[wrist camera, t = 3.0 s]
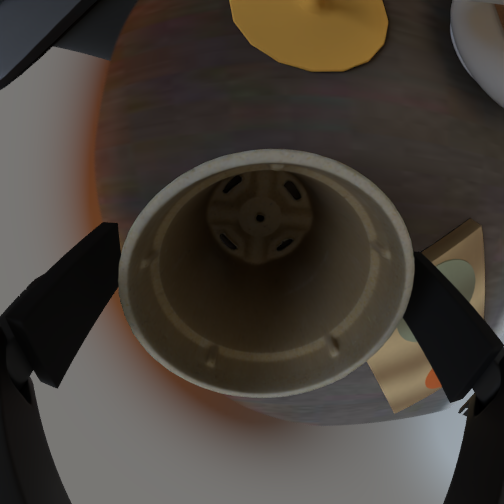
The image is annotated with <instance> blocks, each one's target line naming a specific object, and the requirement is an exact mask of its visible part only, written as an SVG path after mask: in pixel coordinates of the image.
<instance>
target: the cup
mask: <svg viewBox="0 0 504 504" xmlns="http://www.w3.org/2000/svg"><path fill="white" fill-rule="evenodd" d="M229 1H230V6H231V11H232V16H233V22H234V23H235V24H236V26H237V27H238V28H239V29H240V31H241V32H242V33H243V35H244V36H245V37H246V39H247V40H248V41H249V43H250V44H251V45H252V46H254V47H256V48H257V49H259V50H260V51H262V52H264V53H265V54H267V55H268V56H270V57H271V58H273V59H274V60H276V61H277V62H279V63H283V64H286V65H290V66H293V67H297V68H300V69H304V70H307V71H310V72H343V71H345V70H348V69H350V68H353V67H355V66H358V65H361V64H363V63H366V62H368V61H370V59H371V58H372V57H373V56H374V55H375V54H376V53H377V52H378V50H379V49H380V48H381V47H382V46H383V45H384V43H385V38H386V33H387V28H388V23H389V22H388V18H387V14H386V11H385V7H384V4H383V1H382V0H229ZM468 1H471V2H484V3H493V4H501V5H504V0H468Z"/></svg>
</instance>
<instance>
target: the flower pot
mask: <svg viewBox="0 0 504 504" xmlns="http://www.w3.org/2000/svg"><path fill="white" fill-rule="evenodd" d="M236 175H239V176H240V177H242V181H241V182H240V183H239V184H237V185H235V186H234V187H233V188H232V189H231V190H230V191H229V192H228V193H225V192H223V190H224V189H225V187H226V185H227V184H228V183H229V182H230V181H231V180H232V179H233V178H234V177H235V176H236ZM287 181H291V182H293V183H294V184H295V186H296V188H297V190H298V191H299V193H300V196H301V198H300V199H297V200H296V199H294V198H293V196H292V195H291V194H290V192H289V191H288V190H287V189H286V187H284V184H285V183H286V182H287ZM257 215H262V216H264V220H263V221H258V220H257V219H256V217H257ZM221 234H224V235H225V236H226V237H227V238H228V239H229V240H230V241H231V242H232V243H233V244H234V245H235V246H236V249H232V248H230V247H227V246H226V245H225V243H223V242H222V240H221V238H220V235H221ZM288 239H292V240H293V241H292V242H291V243H290V244H289V245H288V246H286V247H285V248H284V249H281V250H277V247H278V246H280V245H281V244H282V241H283V242H284V241H287V240H288ZM414 266H415V264H414V256H413V248H412V242H411V238H410V236H409V233H408V231H407V228H406V225H405V223H404V221H403V219H402V217H401V215H400V214H399V212H398V211H397V209H396V208H395V206H394V205H393V203H392V202H391V201H390V199H389V198H388V197H387V196H386V195H385V194H384V193H383V192H382V191H381V190H380V189H379V188H378V187H377V186H376V185H375V184H374V183H373V182H371V181H370V180H369V179H367V178H366V177H365V176H363V175H362V174H360V173H359V172H358V171H356V170H354V169H352V168H351V167H349V166H347V165H345V164H343V163H341V162H338V161H336V160H333V159H330V158H327V157H324V156H321V155H317V154H313V153H309V152H304V151H298V150H289V149H259V150H251V151H244V152H239V153H234V154H230V155H224V156H222V157H219V158H216V159H213V160H210V161H208V162H205V163H203V164H201V165H199V166H197V167H195V168H193V169H191V170H189V171H188V172H186V173H184V174H182V175H181V176H179V177H178V178H176V179H175V180H174V181H172V182H171V183H170V184H169V185H167V186H166V187H165V188H163V189H162V190H161V191H160V192H159V193H158V194H157V195H156V196H155V197H154V198H153V199H152V200H151V201H150V202H149V203H148V204H147V206H146V207H145V208H144V209H143V211H142V212H141V213H140V214H139V216H138V217H137V219H136V220H135V222H134V224H133V225H132V227H131V229H130V231H129V233H128V235H127V238H126V240H125V243H124V246H123V249H122V254H121V258H120V262H119V277H118V285H119V297H120V302H121V304H122V308H123V311H124V315H125V317H126V319H127V321H128V323H129V325H130V327H131V330H132V332H133V334H134V335H135V336H136V338H137V339H138V340H139V342H140V343H141V345H142V346H143V347H144V348H145V349H146V351H147V352H148V353H149V354H150V355H151V356H152V357H154V359H155V360H157V361H158V362H159V363H161V364H162V365H163V366H164V367H166V368H167V369H168V370H169V371H171V372H173V373H175V374H176V375H178V376H180V377H181V378H183V379H185V380H187V381H189V382H191V383H194V384H196V385H198V386H200V387H203V388H206V389H209V390H212V391H215V392H219V393H223V394H228V395H233V396H242V397H253V398H268V397H272V398H273V397H284V396H290V395H295V394H301V393H304V392H309V391H312V390H314V389H317V388H321V387H323V386H325V385H328V384H331V383H333V382H335V381H337V380H339V379H341V378H343V377H345V376H346V375H349V373H350V372H352V371H354V370H355V369H356V368H358V367H359V366H361V365H362V364H364V363H365V362H366V361H368V360H369V359H370V358H371V357H372V356H373V355H374V354H375V353H376V352H377V351H378V350H379V349H380V348H381V347H382V346H383V345H384V343H385V342H386V341H387V340H388V339H389V338H390V337H391V335H392V334H393V332H394V331H395V330H396V328H397V326H398V324H399V322H400V321H401V319H402V317H403V315H404V313H405V311H406V308H407V305H408V302H409V299H410V296H411V291H412V287H413V280H414V272H415V267H414Z"/></svg>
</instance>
